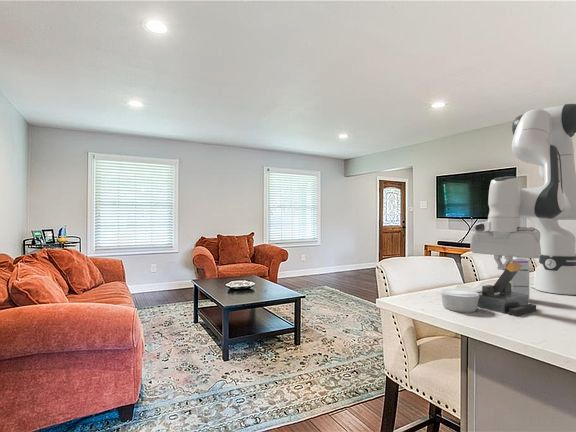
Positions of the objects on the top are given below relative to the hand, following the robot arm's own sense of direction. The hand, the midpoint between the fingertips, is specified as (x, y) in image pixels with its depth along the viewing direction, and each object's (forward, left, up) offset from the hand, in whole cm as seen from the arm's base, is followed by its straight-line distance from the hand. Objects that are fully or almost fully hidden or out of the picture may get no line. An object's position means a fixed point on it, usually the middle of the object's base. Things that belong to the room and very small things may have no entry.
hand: (503, 270), depth 112 cm
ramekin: (+13, -6, -12) cm, 19 cm away
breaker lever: (-1, -2, -7) cm, 7 cm away
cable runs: (+1, -3, -12) cm, 13 cm away
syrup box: (-17, -4, -12) cm, 22 cm away
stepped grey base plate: (-1, -2, -12) cm, 12 cm away
